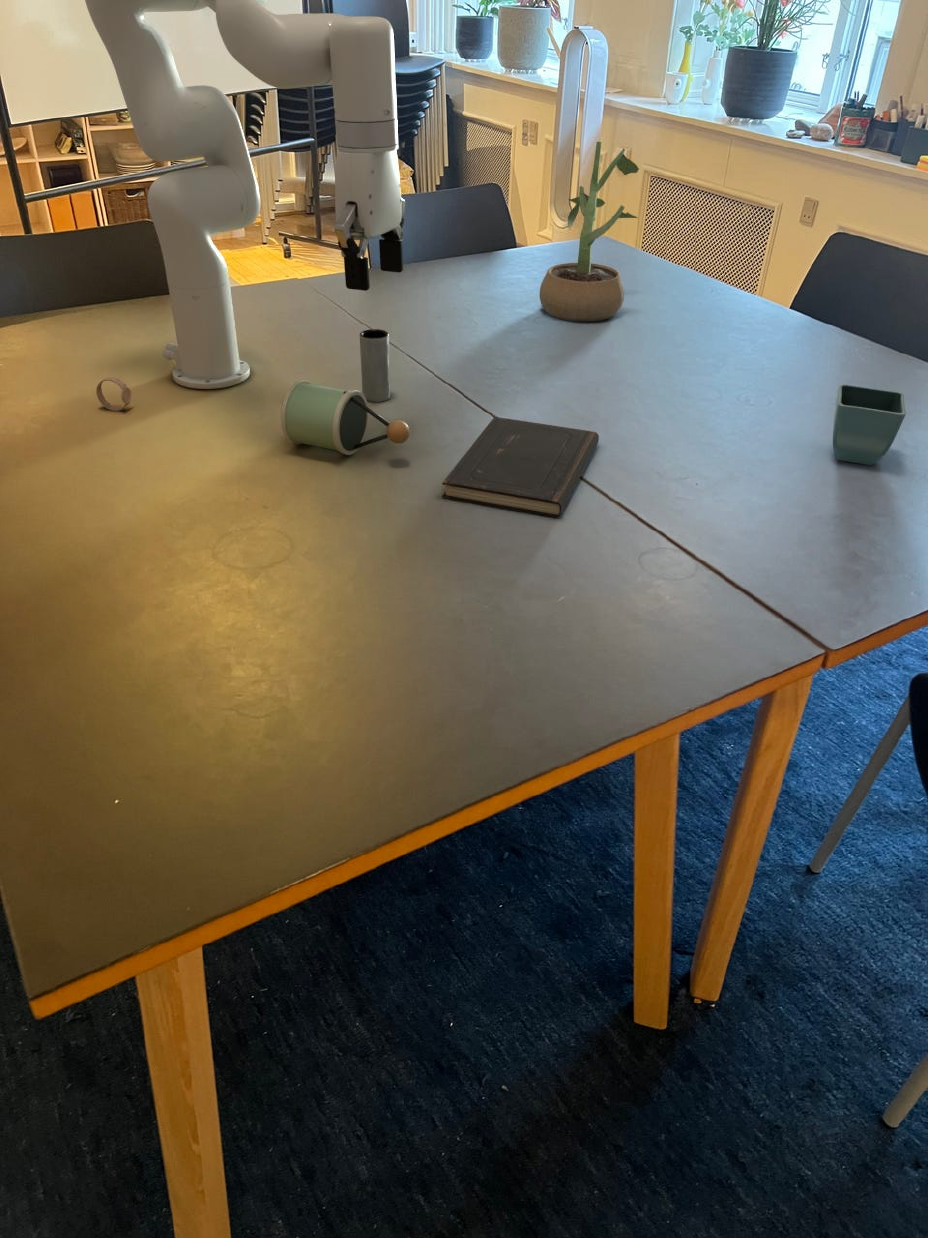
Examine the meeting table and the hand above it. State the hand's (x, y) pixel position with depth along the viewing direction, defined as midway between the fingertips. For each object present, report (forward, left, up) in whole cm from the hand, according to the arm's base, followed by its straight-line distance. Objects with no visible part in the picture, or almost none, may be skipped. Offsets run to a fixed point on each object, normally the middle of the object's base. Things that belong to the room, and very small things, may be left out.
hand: (375, 279), depth 125 cm
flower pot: (+64, +25, -24) cm, 73 cm away
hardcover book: (+22, 0, -24) cm, 32 cm away
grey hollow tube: (-9, +15, -24) cm, 29 cm away
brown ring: (-43, -7, -24) cm, 49 cm away
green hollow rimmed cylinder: (-2, -5, -23) cm, 24 cm away
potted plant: (+7, +76, -24) cm, 80 cm away
